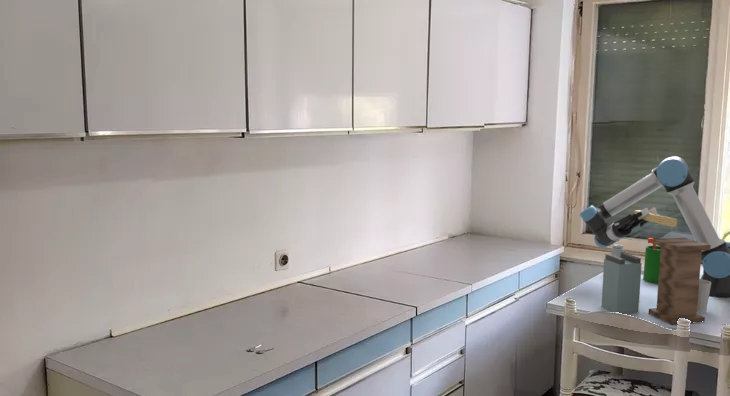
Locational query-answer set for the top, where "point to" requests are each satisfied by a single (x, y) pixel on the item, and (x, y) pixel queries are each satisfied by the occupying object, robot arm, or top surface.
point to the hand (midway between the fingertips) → (651, 210)
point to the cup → (703, 295)
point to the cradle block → (621, 283)
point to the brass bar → (659, 219)
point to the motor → (652, 262)
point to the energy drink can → (617, 250)
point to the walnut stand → (678, 279)
